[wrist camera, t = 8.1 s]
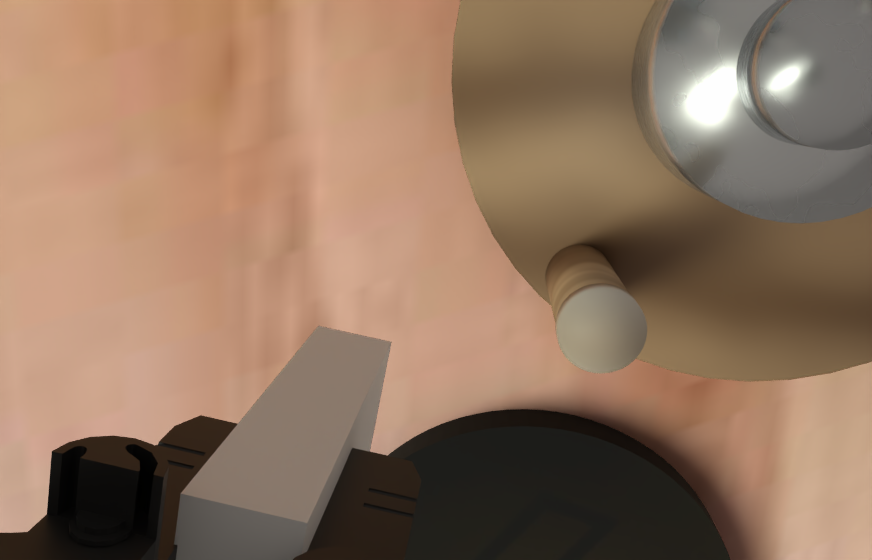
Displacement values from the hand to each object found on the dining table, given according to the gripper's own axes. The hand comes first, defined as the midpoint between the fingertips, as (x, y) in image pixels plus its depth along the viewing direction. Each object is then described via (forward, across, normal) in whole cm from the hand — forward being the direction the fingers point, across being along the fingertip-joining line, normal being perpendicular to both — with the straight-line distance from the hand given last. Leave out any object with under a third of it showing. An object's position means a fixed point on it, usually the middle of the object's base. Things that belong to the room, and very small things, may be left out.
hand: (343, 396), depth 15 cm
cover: (+13, +10, +9) cm, 19 cm away
